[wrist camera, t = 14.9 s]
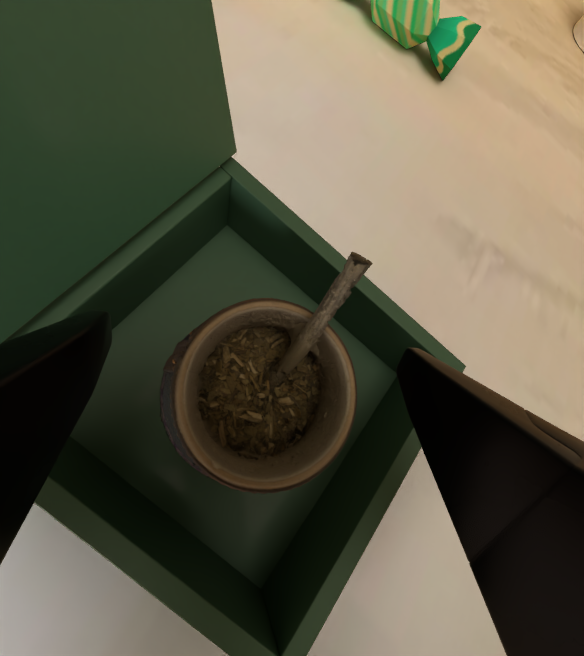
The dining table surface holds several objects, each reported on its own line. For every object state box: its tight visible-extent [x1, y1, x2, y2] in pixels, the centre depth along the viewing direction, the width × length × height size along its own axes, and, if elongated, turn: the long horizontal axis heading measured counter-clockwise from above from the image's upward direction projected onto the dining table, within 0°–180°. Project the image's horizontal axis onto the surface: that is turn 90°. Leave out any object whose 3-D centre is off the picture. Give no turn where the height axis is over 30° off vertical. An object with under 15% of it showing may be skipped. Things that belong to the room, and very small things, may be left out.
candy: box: [371, 0, 481, 80], centre depth 25 cm, size 12×3×4 cm
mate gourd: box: [160, 252, 372, 494], centre depth 12 cm, size 7×8×10 cm
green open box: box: [2, 157, 466, 656], centre depth 15 cm, size 15×15×5 cm
